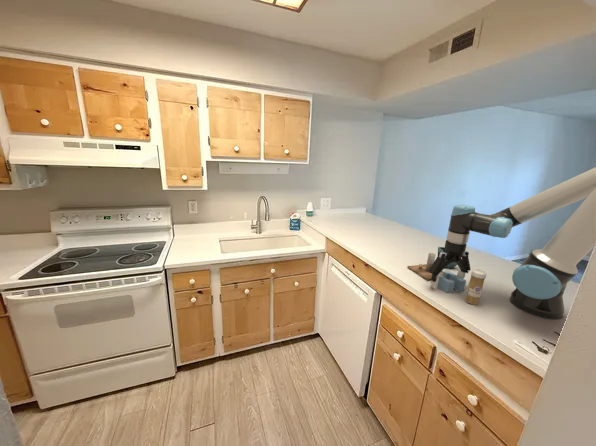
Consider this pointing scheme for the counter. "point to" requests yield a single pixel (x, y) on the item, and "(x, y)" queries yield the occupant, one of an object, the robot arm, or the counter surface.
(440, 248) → the flower pot
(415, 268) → the post base
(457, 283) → the blue notched block
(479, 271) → the sprinkles bottle
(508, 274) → the counter surface
